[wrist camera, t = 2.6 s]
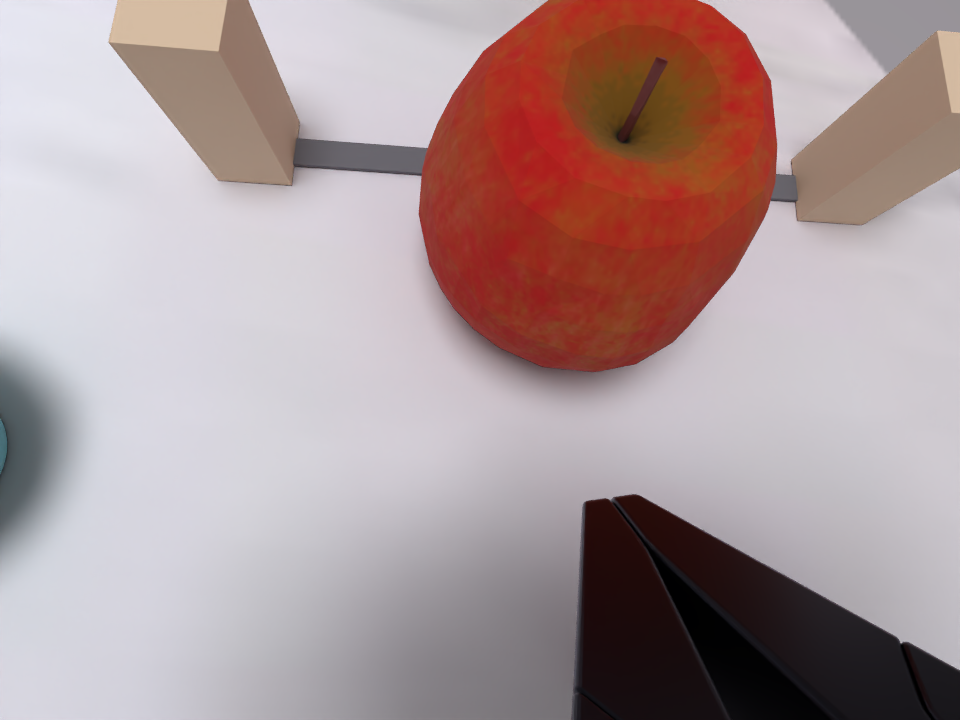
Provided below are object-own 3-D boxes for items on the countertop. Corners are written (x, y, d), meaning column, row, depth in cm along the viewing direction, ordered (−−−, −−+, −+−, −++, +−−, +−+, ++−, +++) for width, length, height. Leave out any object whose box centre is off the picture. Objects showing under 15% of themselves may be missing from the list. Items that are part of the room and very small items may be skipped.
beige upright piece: (862, 224, 23) (1042, 120, 16) (217, 180, 21) (108, 42, 14) (854, 164, 23) (1024, 38, 16) (228, 116, 22) (128, -45, 15)
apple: (643, 419, 20) (854, 381, 10) (384, 335, 20) (317, 205, 10) (702, 185, 22) (927, -53, 12) (467, 108, 22) (487, -199, 12)
